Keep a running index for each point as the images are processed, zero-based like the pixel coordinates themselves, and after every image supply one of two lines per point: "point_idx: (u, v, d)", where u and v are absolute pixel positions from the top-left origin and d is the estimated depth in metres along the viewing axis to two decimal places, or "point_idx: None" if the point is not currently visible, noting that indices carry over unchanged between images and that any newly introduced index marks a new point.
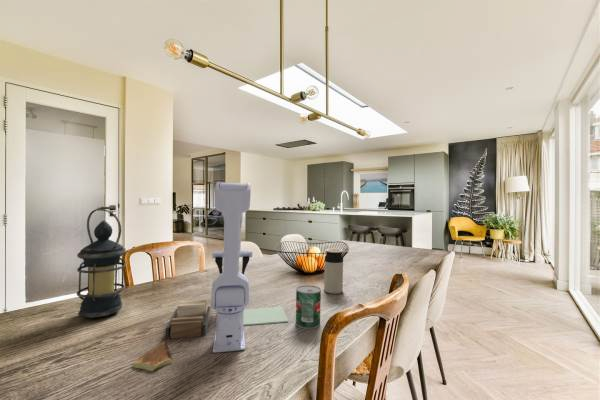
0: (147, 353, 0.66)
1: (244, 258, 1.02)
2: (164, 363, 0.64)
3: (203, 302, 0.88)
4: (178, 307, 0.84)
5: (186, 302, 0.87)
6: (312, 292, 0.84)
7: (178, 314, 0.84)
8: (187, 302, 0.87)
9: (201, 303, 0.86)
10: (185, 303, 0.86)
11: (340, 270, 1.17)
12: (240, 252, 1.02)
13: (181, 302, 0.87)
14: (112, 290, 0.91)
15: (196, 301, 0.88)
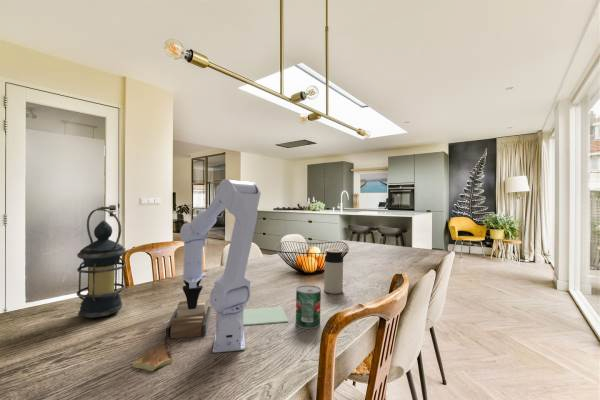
0: (147, 353, 0.66)
1: (186, 286, 0.83)
2: (164, 363, 0.64)
3: (203, 302, 0.88)
4: (178, 307, 0.84)
5: (186, 302, 0.87)
6: (312, 292, 0.85)
7: (178, 314, 0.84)
8: None
9: (201, 303, 0.86)
10: (185, 303, 0.86)
11: (340, 270, 1.17)
12: (190, 277, 0.84)
13: (181, 302, 0.87)
14: (112, 290, 0.91)
15: None
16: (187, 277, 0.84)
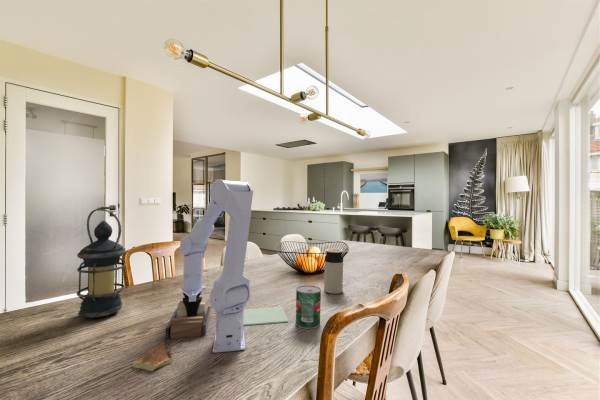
0: (147, 353, 0.66)
1: (186, 299, 0.82)
2: (164, 363, 0.64)
3: (203, 302, 0.88)
4: (178, 307, 0.84)
5: None
6: (312, 292, 0.85)
7: (178, 314, 0.84)
8: None
9: (201, 303, 0.86)
10: None
11: (340, 270, 1.17)
12: (190, 290, 0.84)
13: (181, 302, 0.87)
14: (112, 290, 0.91)
15: None
16: (187, 290, 0.84)
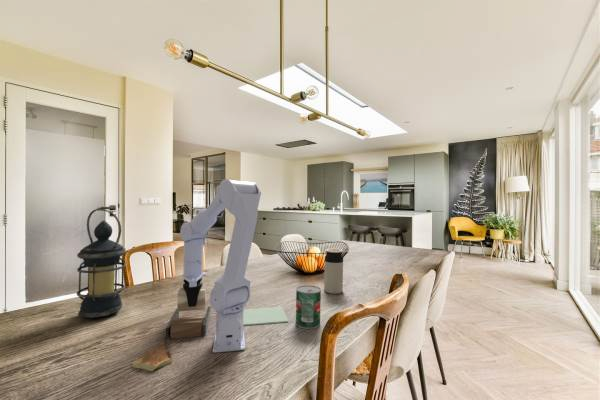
0: (147, 353, 0.66)
1: (186, 285, 0.82)
2: (164, 363, 0.64)
3: (203, 288, 0.88)
4: (178, 293, 0.84)
5: None
6: (312, 292, 0.85)
7: (178, 300, 0.84)
8: None
9: (201, 289, 0.86)
10: None
11: (340, 270, 1.17)
12: (190, 276, 0.84)
13: (181, 288, 0.87)
14: (112, 290, 0.91)
15: None
16: (187, 276, 0.84)
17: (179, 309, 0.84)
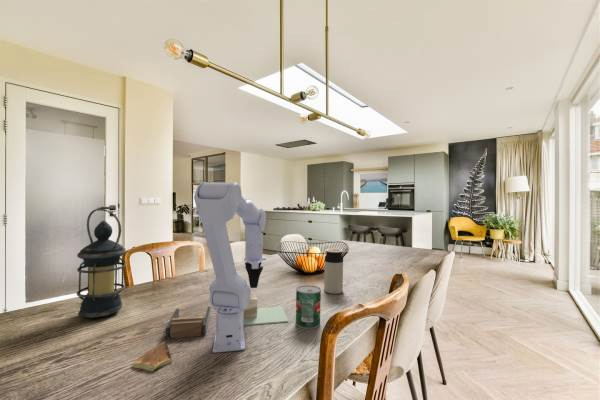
0: (147, 353, 0.66)
1: (248, 267, 0.87)
2: (164, 363, 0.64)
3: (254, 297, 0.92)
4: None
5: None
6: (312, 292, 0.85)
7: None
8: None
9: (254, 298, 0.90)
10: None
11: (340, 270, 1.17)
12: (252, 259, 0.89)
13: None
14: (112, 290, 0.91)
15: None
16: (249, 259, 0.89)
17: None
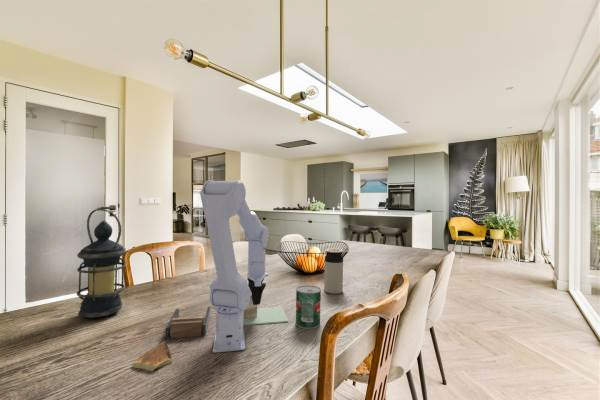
0: (147, 353, 0.66)
1: (251, 284, 0.87)
2: (164, 363, 0.64)
3: None
4: None
5: None
6: (312, 292, 0.84)
7: None
8: None
9: None
10: None
11: (340, 270, 1.17)
12: (254, 276, 0.89)
13: None
14: (112, 290, 0.91)
15: None
16: (252, 275, 0.89)
17: None
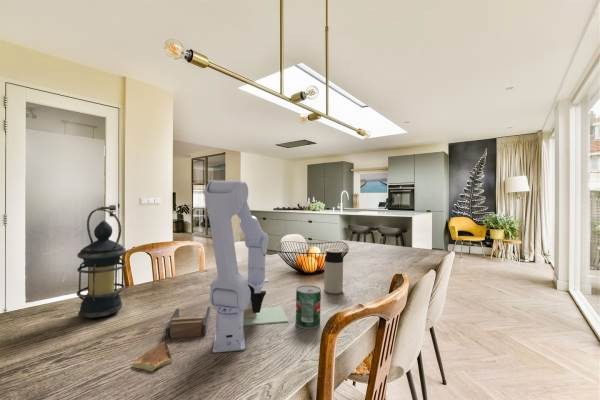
0: (147, 353, 0.66)
1: (251, 290, 0.87)
2: (164, 363, 0.64)
3: None
4: None
5: None
6: (312, 292, 0.84)
7: None
8: None
9: None
10: None
11: (340, 270, 1.17)
12: (254, 282, 0.89)
13: None
14: (112, 290, 0.91)
15: None
16: (251, 282, 0.89)
17: None
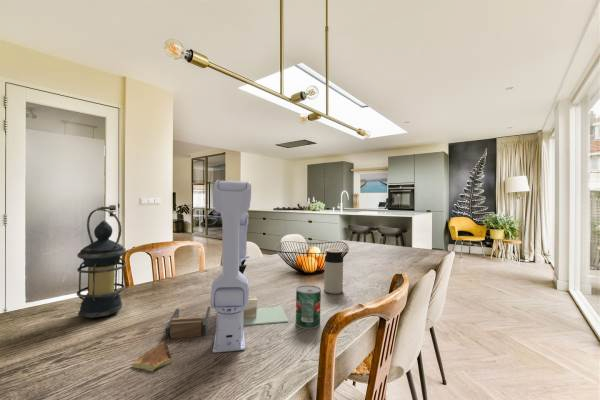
0: (146, 353, 0.66)
1: None
2: (164, 363, 0.64)
3: (254, 297, 0.91)
4: None
5: None
6: (312, 292, 0.85)
7: None
8: None
9: (253, 299, 0.90)
10: None
11: (340, 270, 1.17)
12: None
13: None
14: (112, 290, 0.91)
15: None
16: None
17: None
